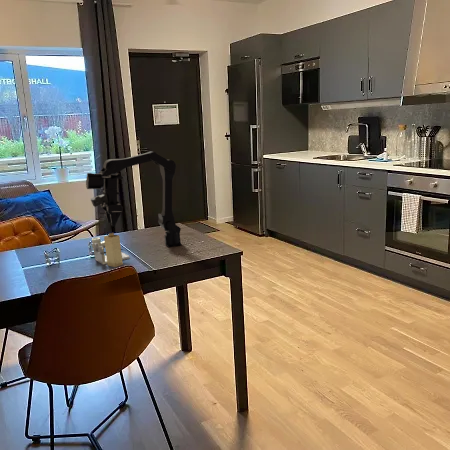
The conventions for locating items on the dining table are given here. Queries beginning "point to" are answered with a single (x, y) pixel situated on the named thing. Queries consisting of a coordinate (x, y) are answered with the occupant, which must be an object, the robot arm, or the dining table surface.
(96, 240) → the valve
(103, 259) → the fixed leaf
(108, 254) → the loose leaf
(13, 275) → the dining table surface
